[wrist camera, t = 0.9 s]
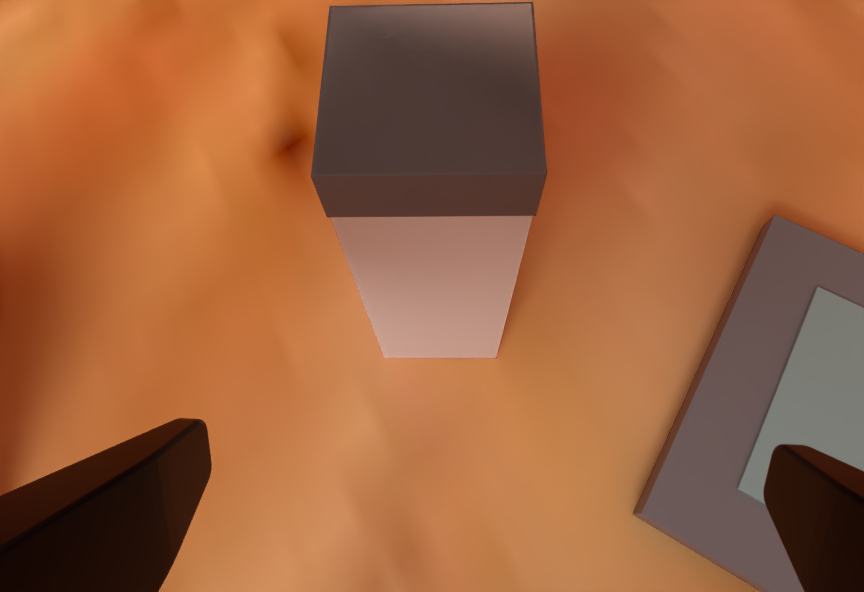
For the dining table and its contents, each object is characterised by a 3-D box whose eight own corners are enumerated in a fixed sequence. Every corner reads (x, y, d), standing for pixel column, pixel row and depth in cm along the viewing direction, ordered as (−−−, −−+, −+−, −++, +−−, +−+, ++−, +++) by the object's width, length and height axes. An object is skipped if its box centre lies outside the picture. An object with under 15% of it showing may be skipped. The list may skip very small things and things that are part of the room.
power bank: (497, 358, 23) (546, 173, 11) (382, 359, 23) (310, 176, 11) (493, 256, 25) (533, 2, 13) (387, 256, 25) (329, 5, 13)
